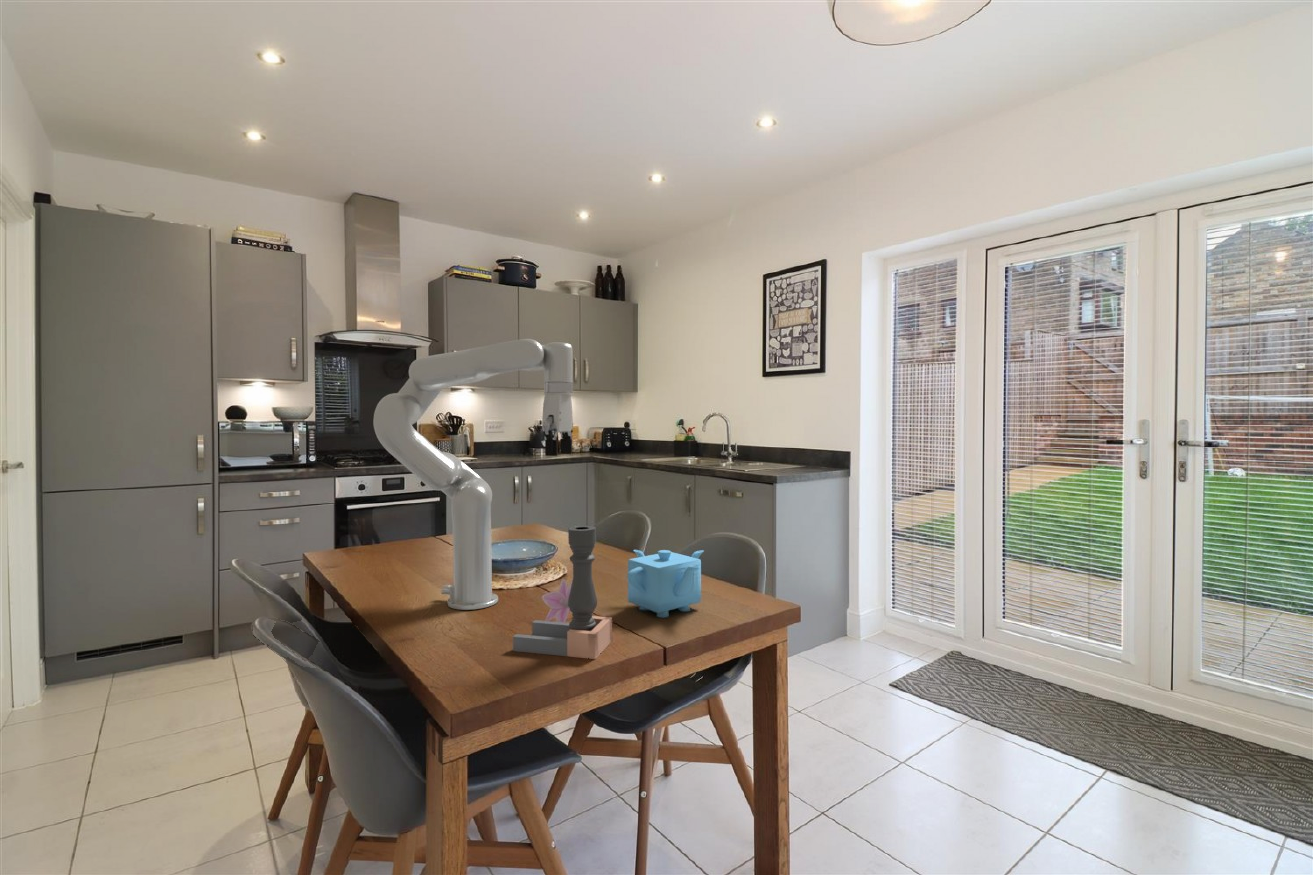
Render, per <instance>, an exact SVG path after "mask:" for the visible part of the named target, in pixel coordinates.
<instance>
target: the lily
mask: <svg viewBox="0 0 1313 875" xmlns="http://www.w3.org/2000/svg"><path fill="white" fill-rule="evenodd" d="M571 585H572V583H570V584H569V585H568V582H567V581H566V579H565V578H562V580H561V582H560V584H559V587H558V591H557V590H556V591H550V592H547V593H545V594H543V595H542V596H541V599H542V600H543V602H544V603H545V605H546V606H547V607H549V608H550V609H549V611H548V613H547V614H546V617H545V620H544V621H551V620H553V619H555V620H556V621H555V622H562V623H566V622H567V621H566V620H567V618H568V615H569V612H571V611H570V609H569V606H568V599H569V594H570V590H571Z"/></svg>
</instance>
